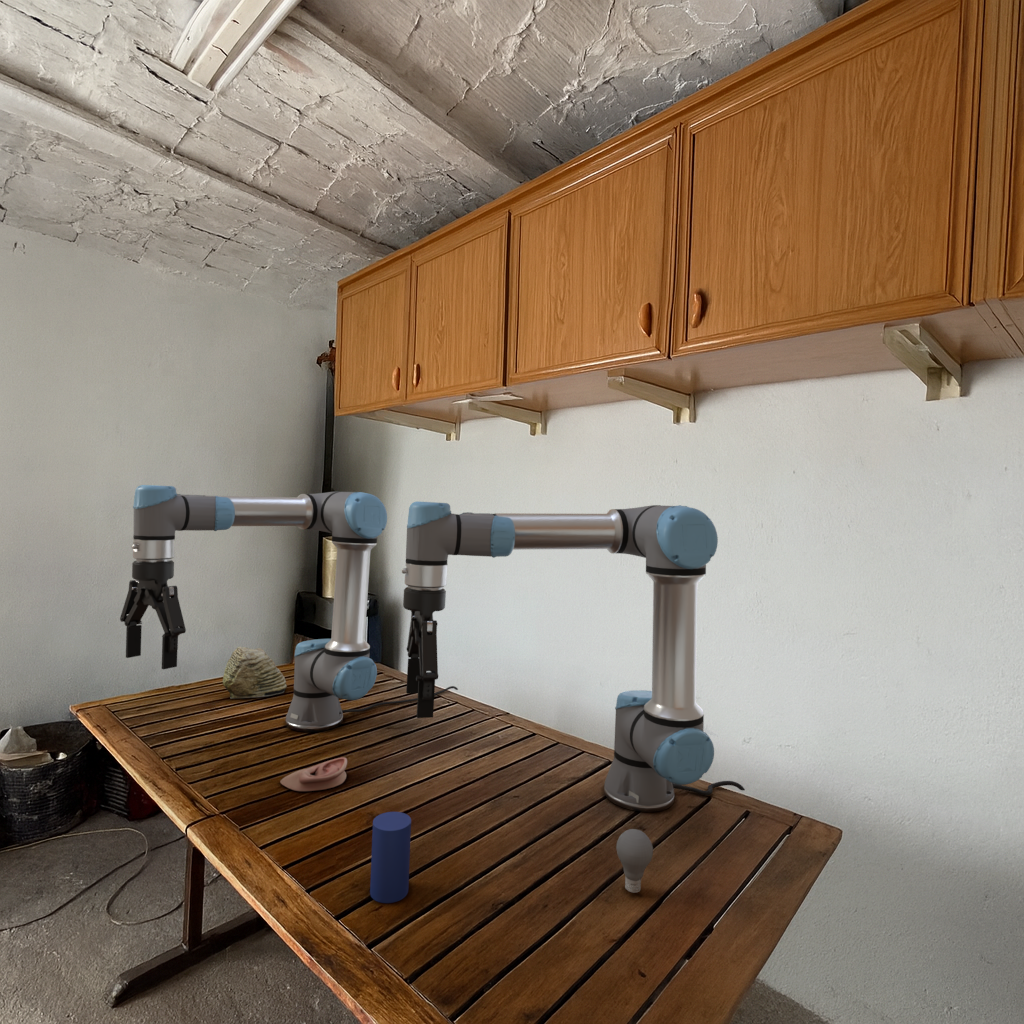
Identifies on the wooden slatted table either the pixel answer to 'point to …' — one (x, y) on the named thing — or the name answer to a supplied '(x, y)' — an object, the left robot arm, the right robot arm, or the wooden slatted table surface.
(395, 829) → the canister
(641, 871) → the light bulb
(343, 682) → the left robot arm
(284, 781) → the anatomical model
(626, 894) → the wooden slatted table surface
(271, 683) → the fossil
